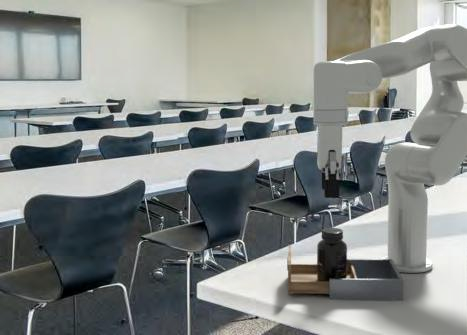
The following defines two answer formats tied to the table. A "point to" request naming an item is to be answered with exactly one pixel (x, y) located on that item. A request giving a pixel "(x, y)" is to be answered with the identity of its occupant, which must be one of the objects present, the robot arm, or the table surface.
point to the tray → (308, 277)
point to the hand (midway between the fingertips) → (330, 193)
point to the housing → (369, 281)
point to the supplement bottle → (331, 255)
